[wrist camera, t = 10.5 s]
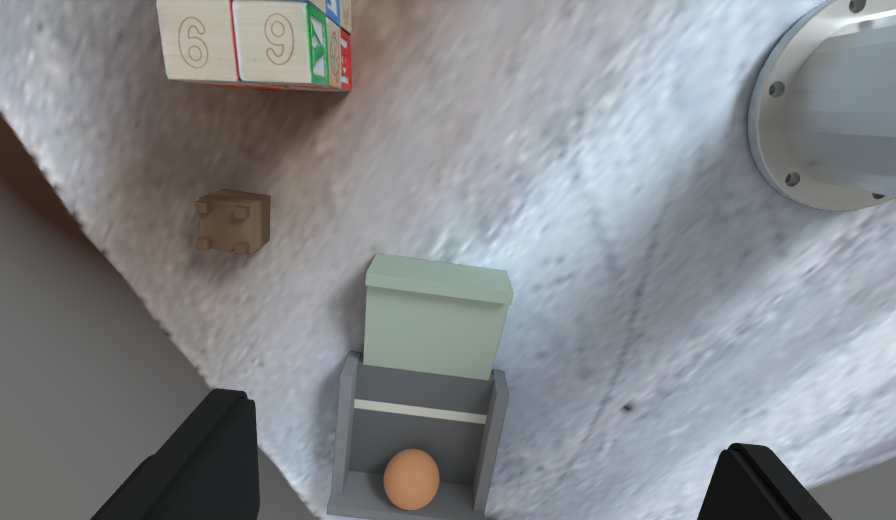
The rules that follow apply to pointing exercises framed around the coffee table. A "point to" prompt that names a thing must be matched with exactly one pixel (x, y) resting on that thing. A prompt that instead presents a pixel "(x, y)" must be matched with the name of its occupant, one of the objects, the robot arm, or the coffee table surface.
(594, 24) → the coffee table surface
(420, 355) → the ramp
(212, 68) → the stack of blocks
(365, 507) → the lane
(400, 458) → the ball
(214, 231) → the brown wooden block
